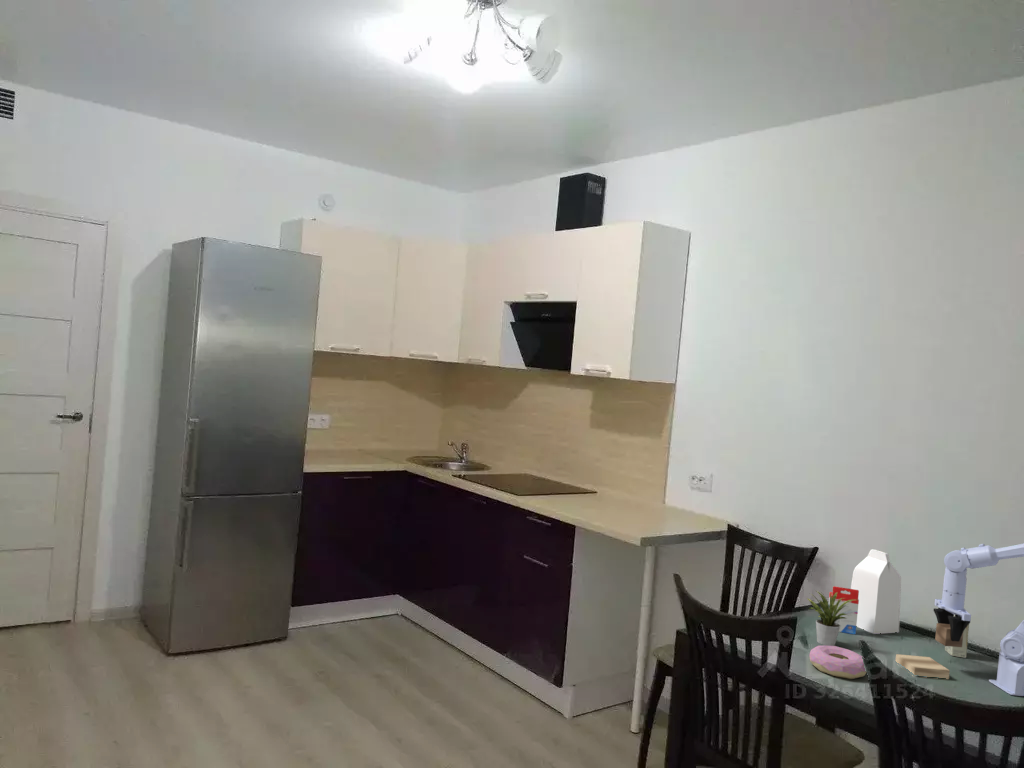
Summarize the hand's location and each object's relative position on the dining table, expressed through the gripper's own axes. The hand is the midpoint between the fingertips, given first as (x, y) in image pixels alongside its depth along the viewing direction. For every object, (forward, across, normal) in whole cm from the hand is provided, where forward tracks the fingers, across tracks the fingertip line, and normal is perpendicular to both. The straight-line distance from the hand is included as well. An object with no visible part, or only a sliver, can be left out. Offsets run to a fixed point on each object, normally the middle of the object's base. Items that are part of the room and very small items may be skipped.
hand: (949, 637), depth 222 cm
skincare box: (+10, -15, +12) cm, 22 cm away
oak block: (+10, +3, -9) cm, 14 cm away
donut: (+10, +8, -36) cm, 38 cm away
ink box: (+10, -29, -18) cm, 36 cm away
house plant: (+10, -15, -28) cm, 33 cm away
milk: (+10, -36, -4) cm, 38 cm away
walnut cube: (+2, 0, 0) cm, 2 cm away
